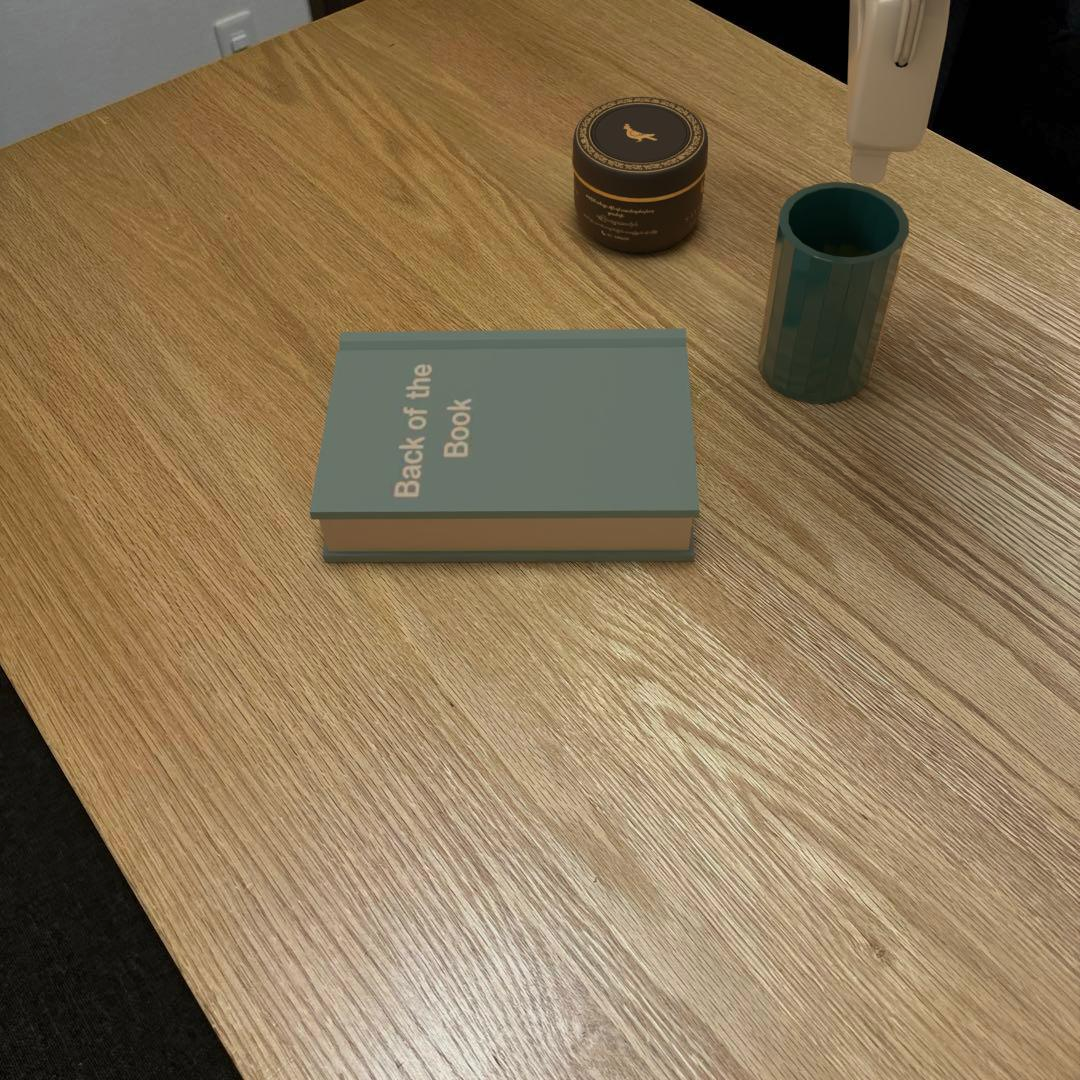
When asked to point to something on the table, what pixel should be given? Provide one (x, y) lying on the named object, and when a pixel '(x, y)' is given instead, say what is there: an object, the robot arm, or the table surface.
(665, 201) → the jar
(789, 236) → the tube
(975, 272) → the table surface
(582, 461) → the book
